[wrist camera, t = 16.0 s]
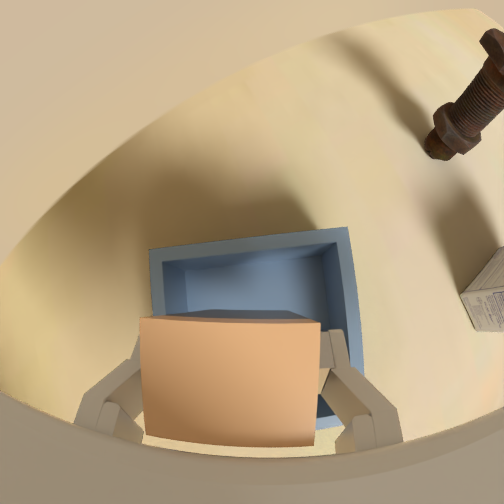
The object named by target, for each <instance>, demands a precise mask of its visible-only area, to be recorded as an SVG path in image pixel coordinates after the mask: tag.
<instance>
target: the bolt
mask: <svg viewBox="0 0 504 504" xmlns="http://www.w3.org/2000/svg"><path fill="white" fill-rule="evenodd" d="M479 42H480V44H481V45H482V46H483V48H484V49H485V51H486V52H487V53H488V55H489V56H488V58H487V59H486V61H485V62H484V64H483V67H482V69H481V70H480V71H479V73H478V74H477V75H476V76H475V78H474V79H473V81H472V83H470V85H469V86H468V87H467V88H466V90H465V91H464V92H463V93H462V95H461V96H460V97H459V98H458V100H456V102H455V103H453V102H448V103H446V104H444V105H442V106H441V107H440V108H438V109H437V111H436V112H435V113H434V115H433V120H434V125H435V127H434V129H433V130H432V131H431V132H430V133H429V134H428V136H427V137H426V139H425V148H426V150H427V151H432V152H431V153H429V154H430V156H431V157H432V158H433V159H440V160H443V161H448V160H450V159H451V158H452V157H453V156H454V155H455V154H456V153H457V152H458V153H460V154H463V155H464V154H465V153H467V152H468V151H469V150H471V149H472V148H473V147H475V146H476V145H477V144H478V143H479V142H480V141H481V133H480V131H482V130H483V129H484V128H485V127H486V126H487V125H488V124H489V123H490V122H491V121H492V120H493V119H494V118H495V117H496V116H497V115H498V114H499V113H500V112H501V111H502V110H503V109H504V33H503V32H501V31H499V30H498V29H495V28H493V29H490V30H488V31H486V32H485V33H484V35H483V36H482V38H481V39H480V41H479Z"/></svg>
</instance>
